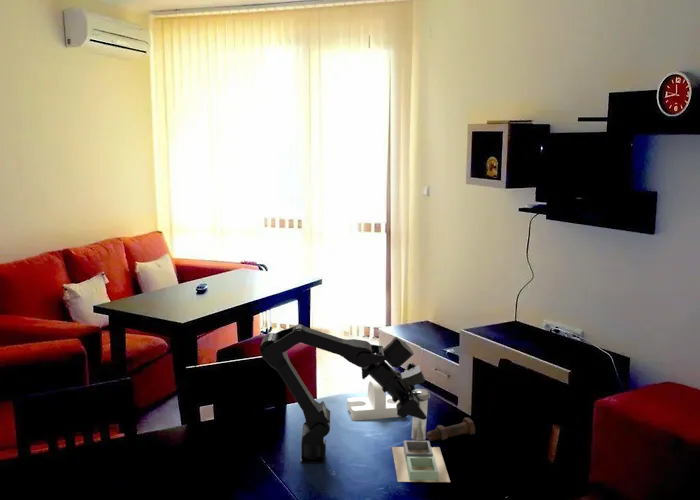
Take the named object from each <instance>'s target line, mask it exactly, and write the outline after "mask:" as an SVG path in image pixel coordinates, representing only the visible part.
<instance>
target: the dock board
mask: <svg viewBox="0 0 700 500" xmlns="http://www.w3.org/2000/svg"><path fill="white" fill-rule="evenodd" d="M391 449H392V456H393V462H394V467H395V474H396V480H397V482H398V483H399V482H400V483H451V480H450V476H449V473H448V470H447V466H446V463H445V460H444V457H443V455H442V451H441V447H439V446H433V447H432V446H431V449H432V453H433V457H434V458H435V462H436V465H437V469H438V480H409V475H408V470H407V465H406V459H405V454H404V449H403V446H391ZM408 451H409V452H410V453H427V450H408ZM412 470H432V468H431V467H422V466H412Z"/></svg>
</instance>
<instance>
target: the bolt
mask: <svg viewBox="0 0 700 500" xmlns="http://www.w3.org/2000/svg"><path fill="white" fill-rule="evenodd" d="M475 433H476V426H475V424H474V421H473V420H472V419H471V418H470V417H463V420H462V421H461V422H460V423H458V424H452V425H449V426H444V425H441V424H438V425H437V426H436V427H435V429H432V430H428V431H426V439H427V440H428V441H429V442H430V441H431V442H434V441H437V440H438V441H439V440H441V441H444V440H447V439H448V438H451V437H456V436H461V435H465V434H468V435H475Z"/></svg>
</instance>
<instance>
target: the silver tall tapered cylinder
mask: <svg viewBox="0 0 700 500" xmlns="http://www.w3.org/2000/svg"><path fill="white" fill-rule="evenodd" d="M412 394H413V395H414V396H415V397H416V396H417V397H418V402H419V407H420V408H421V409H422V411H423V412H424V414H425V415H426V417H427V418H426V419H425V420H423V419H420V418H417V417H413V416H411V417H412V420H411V421H412V422H411V440H412V441H426V439H427V437H426V436H427V434H426V433H427V420H428V403H429V402H428V401H429V400H430V398H431V392H430V391H429V390H428V389H424V388H415V389H414V390H412Z"/></svg>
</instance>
